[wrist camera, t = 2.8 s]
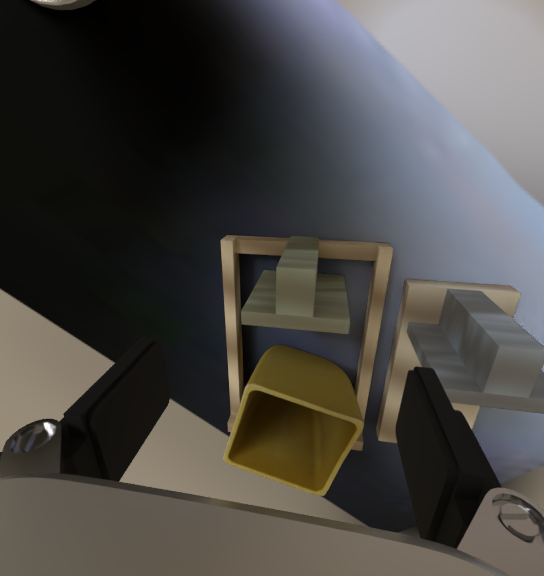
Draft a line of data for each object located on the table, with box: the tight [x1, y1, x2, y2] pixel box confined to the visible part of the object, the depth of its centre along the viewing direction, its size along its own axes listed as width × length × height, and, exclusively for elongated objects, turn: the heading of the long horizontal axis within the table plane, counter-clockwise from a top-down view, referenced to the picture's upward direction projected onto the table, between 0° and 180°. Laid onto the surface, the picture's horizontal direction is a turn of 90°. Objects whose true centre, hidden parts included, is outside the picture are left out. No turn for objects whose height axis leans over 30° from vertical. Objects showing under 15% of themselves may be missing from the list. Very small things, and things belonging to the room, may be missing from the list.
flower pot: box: [223, 345, 364, 496], centre depth 27 cm, size 9×9×9 cm
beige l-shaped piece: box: [376, 279, 544, 443], centre depth 24 cm, size 17×8×10 cm, turn 0°
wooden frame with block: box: [221, 235, 393, 451], centre depth 26 cm, size 20×14×8 cm
